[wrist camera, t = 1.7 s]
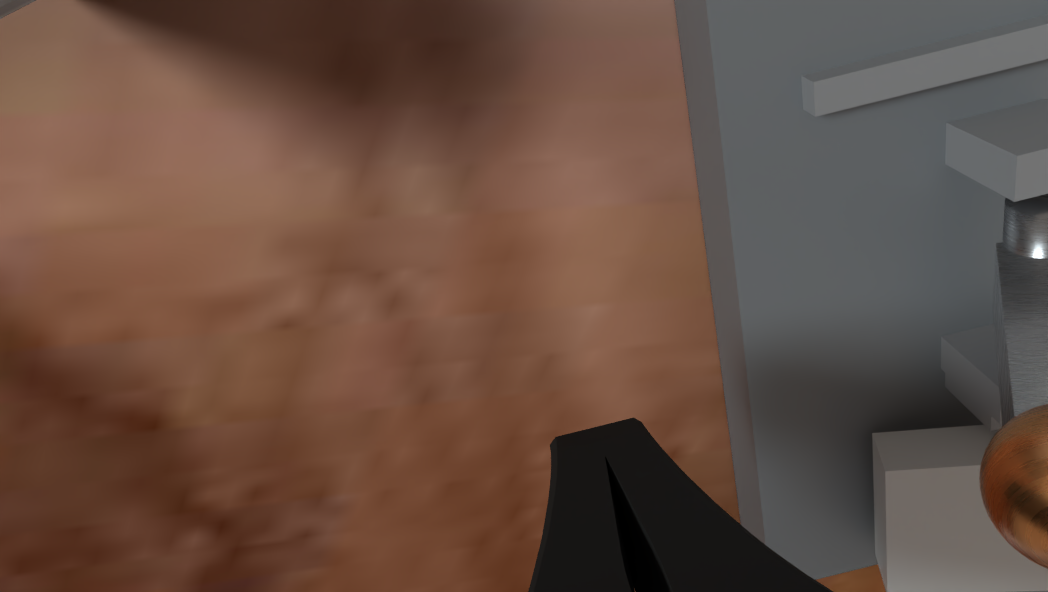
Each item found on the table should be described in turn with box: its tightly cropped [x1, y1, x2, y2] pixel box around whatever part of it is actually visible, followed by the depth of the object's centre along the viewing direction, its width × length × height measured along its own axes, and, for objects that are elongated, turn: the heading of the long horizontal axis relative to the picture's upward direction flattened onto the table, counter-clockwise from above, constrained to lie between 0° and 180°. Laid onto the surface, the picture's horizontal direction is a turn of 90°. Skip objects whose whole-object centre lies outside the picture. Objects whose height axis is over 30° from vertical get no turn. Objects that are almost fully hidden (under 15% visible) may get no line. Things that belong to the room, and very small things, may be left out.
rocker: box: [872, 425, 1048, 592], centre depth 17 cm, size 4×6×1 cm, turn 103°
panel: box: [674, 0, 1048, 592], centre depth 16 cm, size 17×10×4 cm, turn 12°
